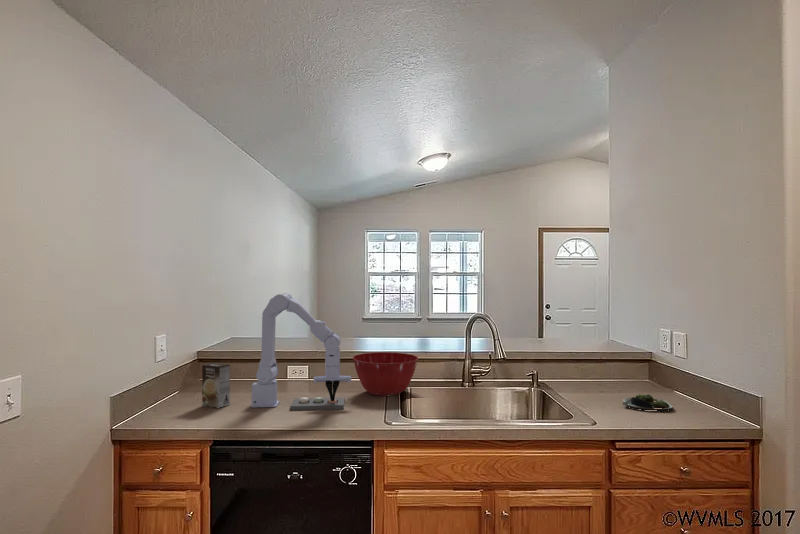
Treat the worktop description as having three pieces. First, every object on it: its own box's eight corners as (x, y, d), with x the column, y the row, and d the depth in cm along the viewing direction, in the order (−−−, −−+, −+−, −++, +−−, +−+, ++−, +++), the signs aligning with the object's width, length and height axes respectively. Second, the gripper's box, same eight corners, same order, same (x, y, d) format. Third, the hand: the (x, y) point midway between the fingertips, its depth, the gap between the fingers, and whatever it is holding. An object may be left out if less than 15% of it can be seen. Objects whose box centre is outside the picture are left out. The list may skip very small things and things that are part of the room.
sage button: (313, 403, 200) (313, 399, 200) (314, 401, 203) (314, 397, 203) (322, 403, 200) (322, 399, 200) (322, 401, 203) (322, 397, 203)
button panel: (290, 410, 195) (290, 406, 195) (294, 402, 207) (294, 398, 207) (343, 409, 196) (343, 405, 196) (344, 401, 208) (344, 397, 208)
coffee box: (200, 406, 201) (201, 364, 201) (213, 402, 207) (213, 362, 207) (218, 408, 197) (218, 366, 198) (230, 404, 203) (230, 363, 203)
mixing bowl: (420, 386, 236) (420, 352, 236) (416, 401, 207) (416, 363, 207) (359, 384, 238) (359, 351, 239) (346, 400, 210) (346, 362, 210)
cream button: (299, 403, 199) (299, 399, 200) (300, 401, 203) (300, 397, 203) (307, 403, 200) (307, 399, 200) (308, 401, 203) (308, 397, 203)
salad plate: (616, 398, 213) (616, 387, 213) (664, 401, 208) (664, 390, 208) (623, 411, 194) (623, 398, 194) (676, 414, 189) (676, 401, 189)
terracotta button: (328, 406, 200) (328, 401, 200) (328, 404, 203) (328, 399, 203) (336, 405, 200) (336, 401, 200) (337, 403, 204) (337, 399, 204)
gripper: (312, 367, 198) (312, 403, 197) (351, 367, 199) (351, 402, 198) (314, 364, 205) (314, 398, 205) (351, 363, 206) (351, 398, 206)
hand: (332, 400), depth 202 cm, fingers closed
